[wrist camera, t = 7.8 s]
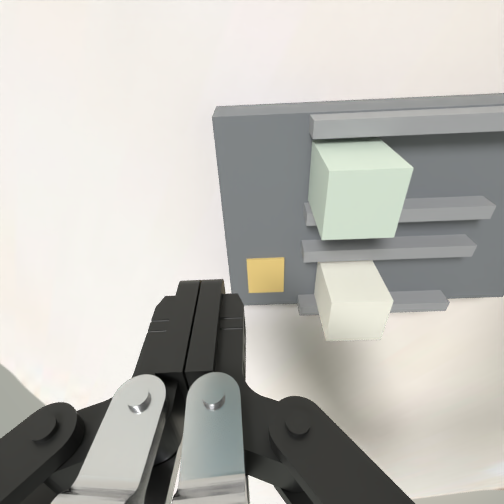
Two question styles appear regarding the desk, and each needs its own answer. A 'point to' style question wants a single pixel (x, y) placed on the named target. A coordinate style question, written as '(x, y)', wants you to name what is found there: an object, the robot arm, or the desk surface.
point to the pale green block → (357, 188)
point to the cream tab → (351, 300)
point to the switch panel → (412, 215)
